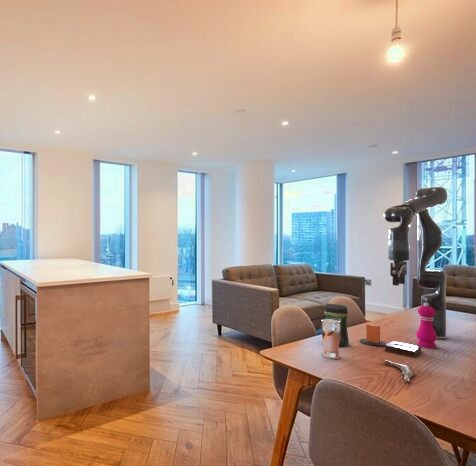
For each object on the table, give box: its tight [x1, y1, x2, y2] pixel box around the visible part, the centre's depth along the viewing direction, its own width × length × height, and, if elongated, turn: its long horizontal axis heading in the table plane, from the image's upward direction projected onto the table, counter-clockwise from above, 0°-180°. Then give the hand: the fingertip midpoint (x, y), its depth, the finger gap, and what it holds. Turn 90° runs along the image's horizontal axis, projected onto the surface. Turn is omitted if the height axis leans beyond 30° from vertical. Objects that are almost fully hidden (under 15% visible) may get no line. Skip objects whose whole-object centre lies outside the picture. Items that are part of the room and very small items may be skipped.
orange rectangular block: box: [365, 323, 381, 344], centre depth 158 cm, size 2×5×8 cm, turn 37°
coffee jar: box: [323, 303, 350, 347], centre depth 158 cm, size 10×8×19 cm
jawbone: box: [376, 357, 415, 384], centre depth 123 cm, size 9×20×2 cm, turn 168°
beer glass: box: [321, 318, 341, 360], centre depth 141 cm, size 7×7×15 cm
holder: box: [384, 340, 422, 358], centre depth 147 cm, size 10×10×2 cm
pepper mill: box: [415, 303, 438, 349], centre depth 154 cm, size 7×7×20 cm
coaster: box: [360, 338, 388, 348], centre depth 158 cm, size 10×10×1 cm
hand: (398, 284), depth 156 cm, fingers open, 8 cm apart
